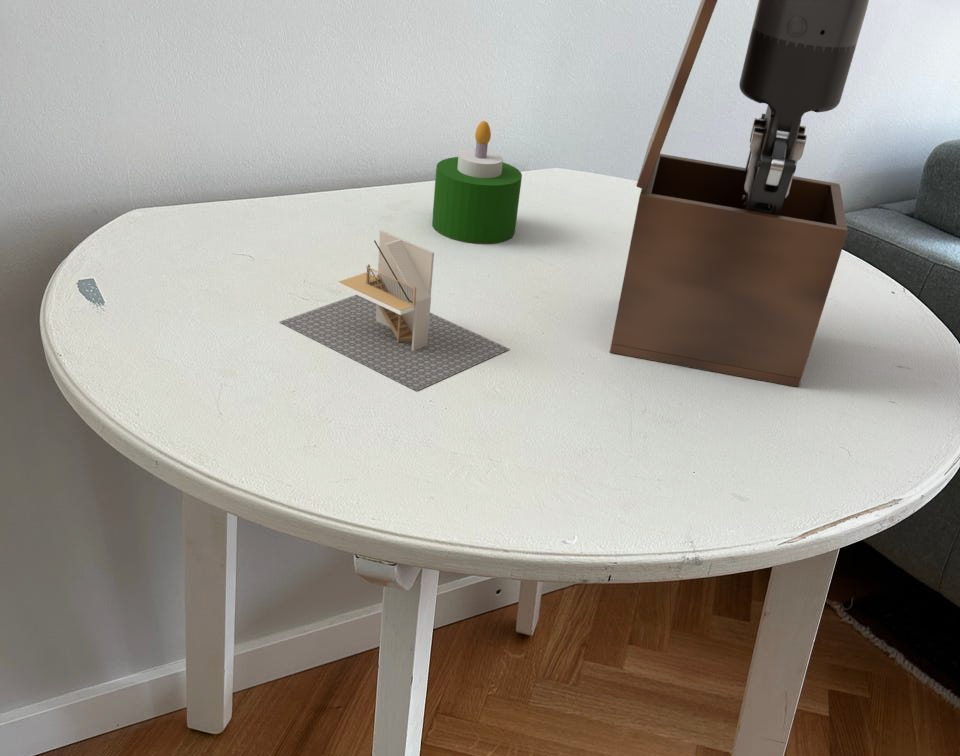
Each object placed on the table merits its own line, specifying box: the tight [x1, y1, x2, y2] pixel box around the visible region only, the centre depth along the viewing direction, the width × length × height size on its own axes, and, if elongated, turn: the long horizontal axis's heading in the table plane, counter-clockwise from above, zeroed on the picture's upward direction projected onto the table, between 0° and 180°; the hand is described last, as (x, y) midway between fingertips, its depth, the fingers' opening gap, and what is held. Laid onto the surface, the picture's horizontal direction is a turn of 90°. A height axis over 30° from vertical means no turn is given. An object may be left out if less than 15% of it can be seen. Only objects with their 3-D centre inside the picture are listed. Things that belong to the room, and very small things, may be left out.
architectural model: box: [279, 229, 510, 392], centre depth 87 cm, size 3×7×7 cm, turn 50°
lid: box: [636, 0, 718, 190], centre depth 82 cm, size 16×12×1 cm
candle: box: [431, 120, 523, 244], centre depth 107 cm, size 8×8×10 cm
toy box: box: [609, 153, 849, 388], centre depth 91 cm, size 16×12×13 cm
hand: (744, 263), depth 91 cm, fingers open, 3 cm apart
